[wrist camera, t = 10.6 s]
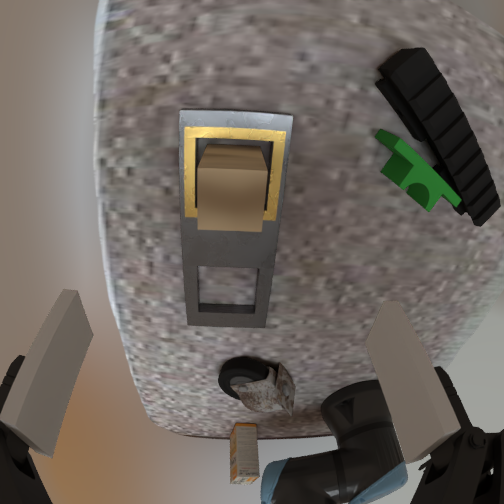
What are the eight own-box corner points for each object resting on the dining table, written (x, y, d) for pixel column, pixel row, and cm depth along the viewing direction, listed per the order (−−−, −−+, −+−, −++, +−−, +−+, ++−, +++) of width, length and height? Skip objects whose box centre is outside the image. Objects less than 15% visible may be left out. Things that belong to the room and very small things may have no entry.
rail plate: (263, 319, 40) (265, 328, 39) (188, 316, 39) (187, 326, 38) (290, 113, 26) (293, 116, 25) (182, 108, 25) (179, 110, 24)
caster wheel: (216, 353, 48) (271, 340, 44) (247, 394, 51) (298, 385, 48) (204, 383, 42) (264, 372, 38) (239, 423, 46) (295, 416, 42)
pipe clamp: (359, 156, 29) (377, 169, 25) (379, 128, 27) (400, 137, 23) (423, 208, 32) (443, 226, 28) (440, 184, 31) (462, 200, 27)
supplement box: (234, 422, 58) (236, 476, 47) (256, 423, 58) (260, 477, 47) (228, 435, 62) (229, 484, 51) (248, 436, 63) (251, 485, 52)
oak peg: (255, 193, 31) (261, 232, 24) (206, 191, 30) (197, 229, 24) (259, 146, 28) (267, 171, 21) (207, 143, 28) (197, 168, 21)
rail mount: (484, 182, 31) (508, 198, 26) (454, 212, 33) (476, 231, 29) (405, 41, 22) (432, 39, 18) (365, 74, 24) (388, 75, 20)
